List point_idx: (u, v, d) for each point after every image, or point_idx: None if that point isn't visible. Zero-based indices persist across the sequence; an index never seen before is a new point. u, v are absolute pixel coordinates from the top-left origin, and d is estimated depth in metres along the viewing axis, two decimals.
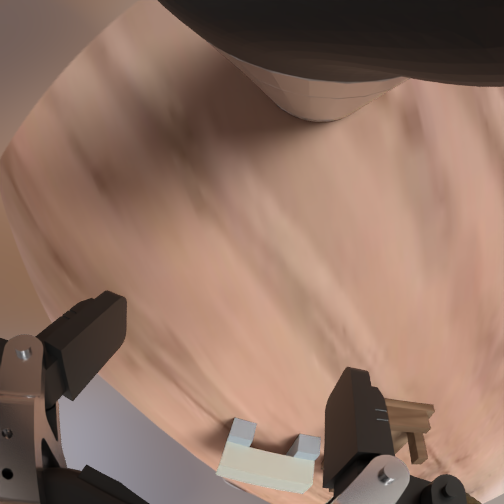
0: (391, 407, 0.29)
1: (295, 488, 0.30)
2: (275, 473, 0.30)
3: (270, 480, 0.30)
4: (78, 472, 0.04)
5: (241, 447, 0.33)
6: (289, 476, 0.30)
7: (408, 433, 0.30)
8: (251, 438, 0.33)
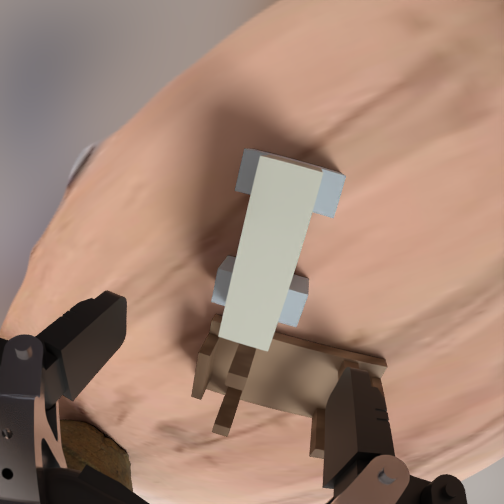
0: None
1: (244, 324, 0.20)
2: None
3: (278, 280, 0.18)
4: (78, 472, 0.04)
5: None
6: None
7: (320, 413, 0.28)
8: (334, 214, 0.21)
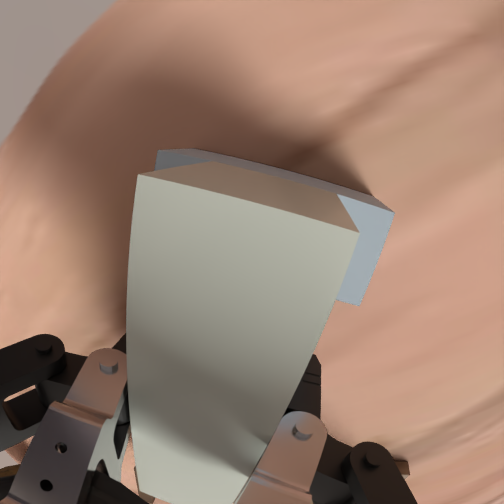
0: None
1: (175, 492, 0.08)
2: None
3: (225, 463, 0.07)
4: None
5: None
6: None
7: None
8: None
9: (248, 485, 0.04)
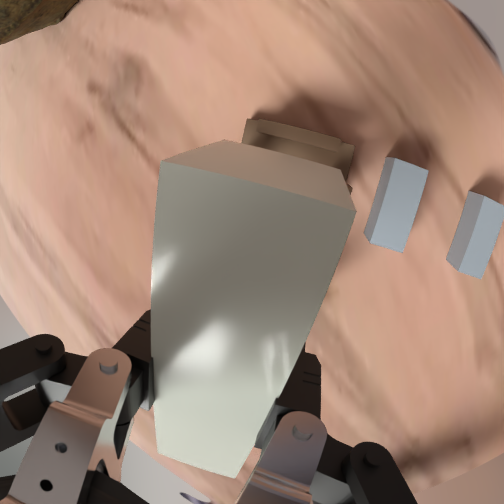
0: None
1: (191, 452, 0.10)
2: None
3: (239, 419, 0.08)
4: None
5: None
6: None
7: None
8: (458, 270, 0.22)
9: (248, 485, 0.04)
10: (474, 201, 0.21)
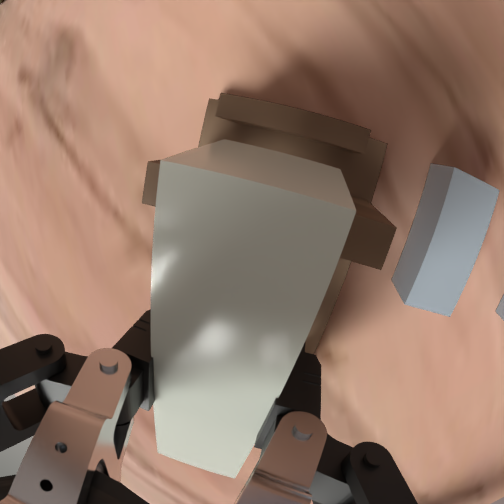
0: None
1: (191, 452, 0.10)
2: None
3: (238, 419, 0.08)
4: None
5: None
6: None
7: None
8: None
9: (248, 485, 0.04)
10: None
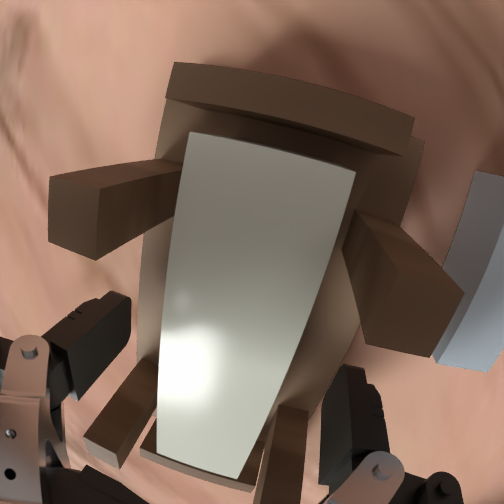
0: None
1: (193, 448, 0.10)
2: None
3: (246, 401, 0.08)
4: (78, 472, 0.04)
5: None
6: None
7: None
8: None
9: None
10: None
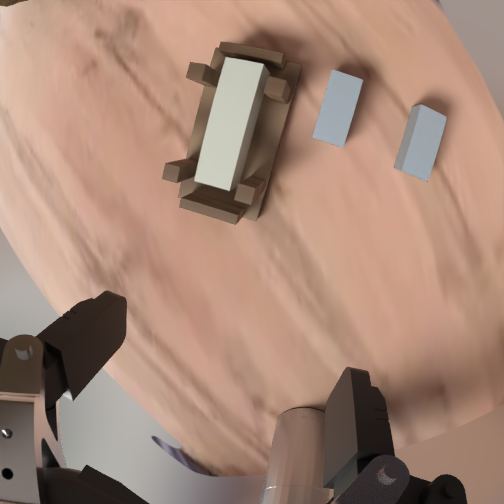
0: None
1: (212, 168, 0.27)
2: (244, 137, 0.26)
3: (235, 132, 0.25)
4: (78, 472, 0.04)
5: None
6: (239, 156, 0.27)
7: None
8: None
9: None
10: (414, 112, 0.24)
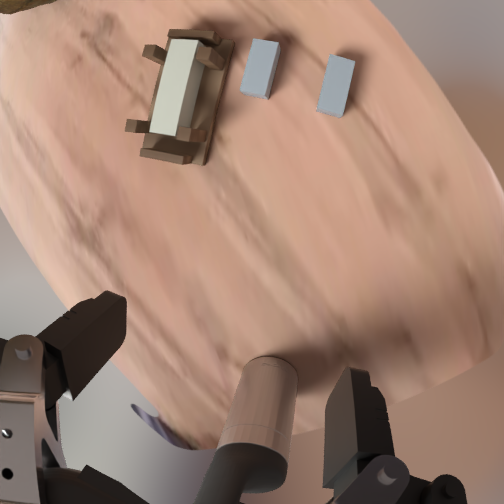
0: None
1: (162, 120, 0.32)
2: (186, 95, 0.31)
3: (178, 91, 0.31)
4: (78, 472, 0.04)
5: None
6: (183, 110, 0.32)
7: None
8: (318, 108, 0.31)
9: None
10: None
